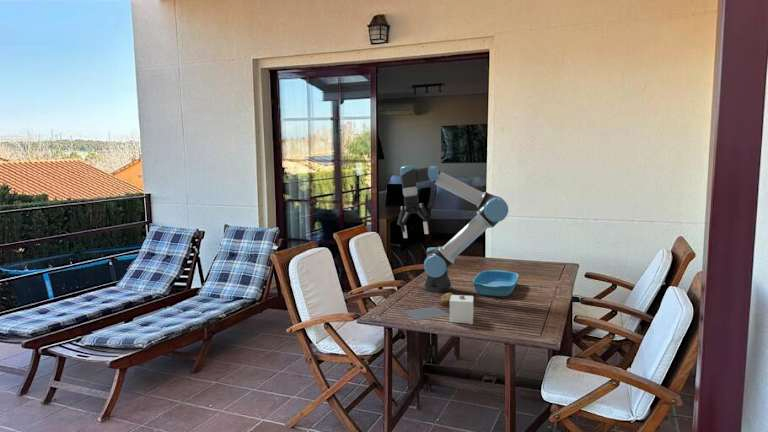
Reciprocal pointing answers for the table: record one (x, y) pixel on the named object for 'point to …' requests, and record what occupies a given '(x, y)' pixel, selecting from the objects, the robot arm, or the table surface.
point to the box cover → (461, 309)
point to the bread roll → (445, 299)
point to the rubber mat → (425, 313)
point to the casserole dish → (495, 282)
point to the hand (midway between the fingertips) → (416, 236)
